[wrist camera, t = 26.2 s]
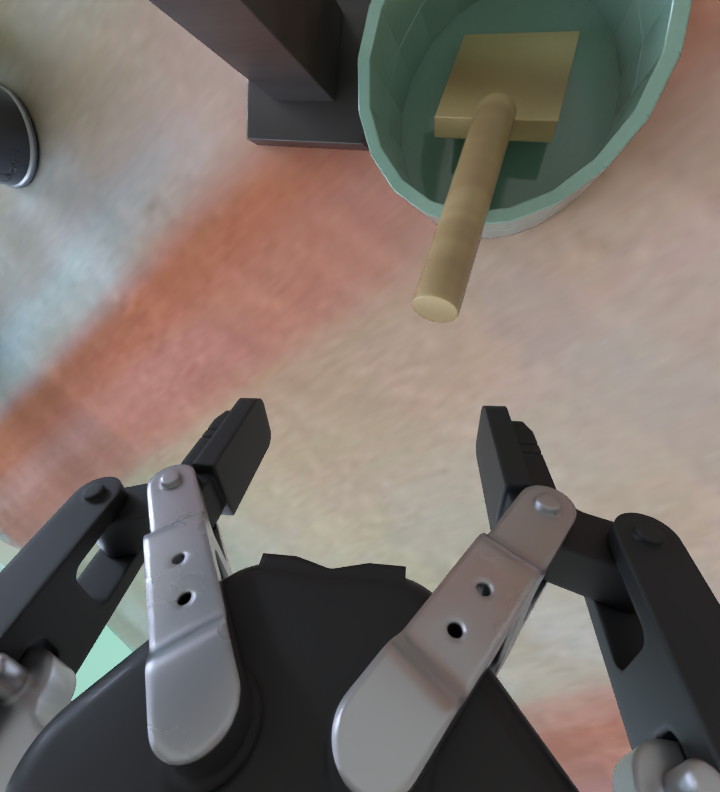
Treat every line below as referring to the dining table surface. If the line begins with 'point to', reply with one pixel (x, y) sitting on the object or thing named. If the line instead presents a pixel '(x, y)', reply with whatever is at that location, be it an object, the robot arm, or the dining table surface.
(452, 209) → the rice paddle
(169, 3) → the stand
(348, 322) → the dining table surface
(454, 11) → the pot
